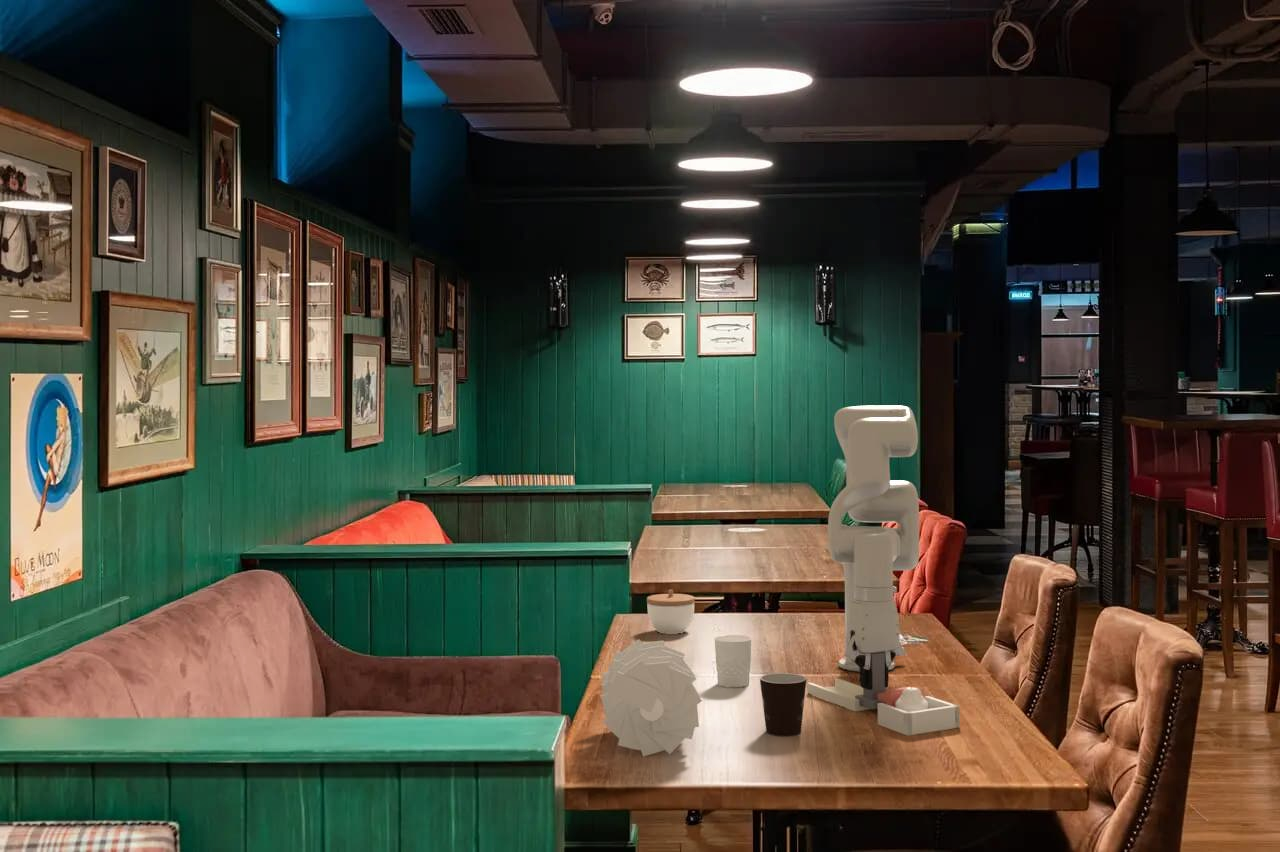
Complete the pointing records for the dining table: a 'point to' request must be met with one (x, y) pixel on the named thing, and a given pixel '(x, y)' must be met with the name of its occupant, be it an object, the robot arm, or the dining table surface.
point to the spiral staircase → (650, 698)
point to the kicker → (879, 685)
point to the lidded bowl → (670, 612)
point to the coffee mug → (783, 702)
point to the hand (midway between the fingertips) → (874, 686)
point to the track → (839, 694)
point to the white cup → (733, 660)
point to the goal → (920, 717)
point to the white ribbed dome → (911, 700)
